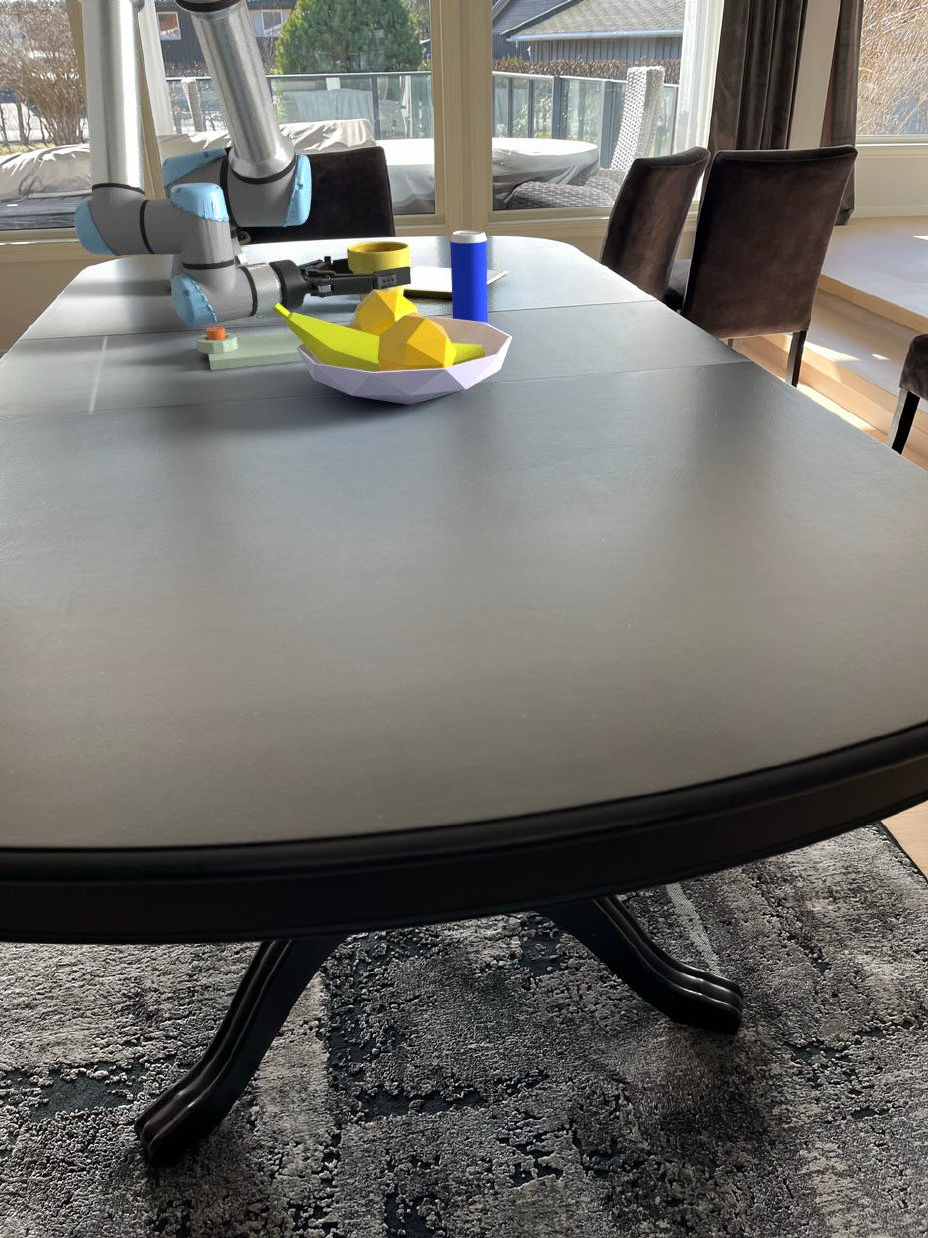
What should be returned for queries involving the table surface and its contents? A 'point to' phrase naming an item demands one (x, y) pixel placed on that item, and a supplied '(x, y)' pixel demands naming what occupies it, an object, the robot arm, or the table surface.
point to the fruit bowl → (397, 350)
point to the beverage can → (469, 275)
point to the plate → (438, 282)
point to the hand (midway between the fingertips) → (388, 269)
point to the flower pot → (378, 259)
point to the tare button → (215, 333)
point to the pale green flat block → (250, 349)
